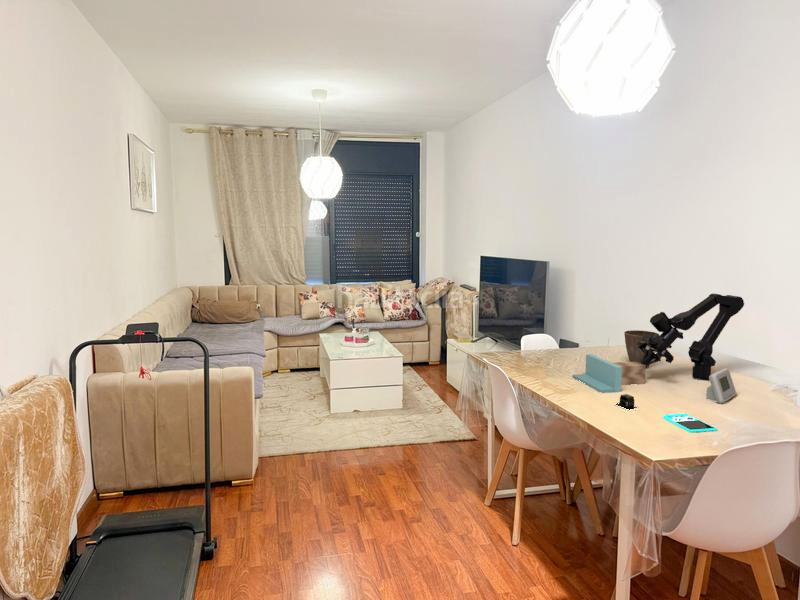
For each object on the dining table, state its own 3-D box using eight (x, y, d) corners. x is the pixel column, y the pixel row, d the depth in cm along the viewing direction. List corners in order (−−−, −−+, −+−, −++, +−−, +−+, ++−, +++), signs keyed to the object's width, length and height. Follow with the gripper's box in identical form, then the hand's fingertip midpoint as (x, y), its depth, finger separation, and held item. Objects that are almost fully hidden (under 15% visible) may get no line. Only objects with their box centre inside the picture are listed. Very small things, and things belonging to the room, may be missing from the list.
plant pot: (648, 362, 274) (650, 330, 272) (663, 370, 259) (665, 336, 257) (617, 363, 274) (619, 330, 272) (631, 371, 259) (632, 336, 257)
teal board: (590, 376, 250) (591, 354, 249) (620, 391, 227) (621, 367, 225) (572, 377, 249) (573, 354, 247) (601, 392, 225) (602, 368, 224)
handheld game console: (686, 416, 198) (686, 412, 198) (718, 432, 183) (719, 428, 183) (659, 418, 197) (659, 414, 197) (690, 434, 181) (690, 430, 181)
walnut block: (634, 379, 244) (635, 361, 243) (644, 384, 238) (645, 365, 237) (600, 381, 242) (601, 363, 241) (609, 386, 235) (610, 367, 234)
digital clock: (720, 405, 209) (722, 377, 208) (697, 399, 217) (698, 371, 215) (744, 398, 217) (746, 371, 216) (720, 392, 225) (722, 366, 224)
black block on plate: (606, 404, 212) (607, 392, 212) (621, 401, 215) (622, 390, 215) (632, 414, 201) (632, 401, 201) (647, 411, 204) (648, 399, 203)
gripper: (641, 322, 248) (616, 348, 248) (668, 330, 230) (642, 358, 229) (656, 339, 251) (632, 365, 250) (685, 348, 232) (659, 376, 232)
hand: (640, 366), depth 240 cm, fingers closed, pressing on walnut block
